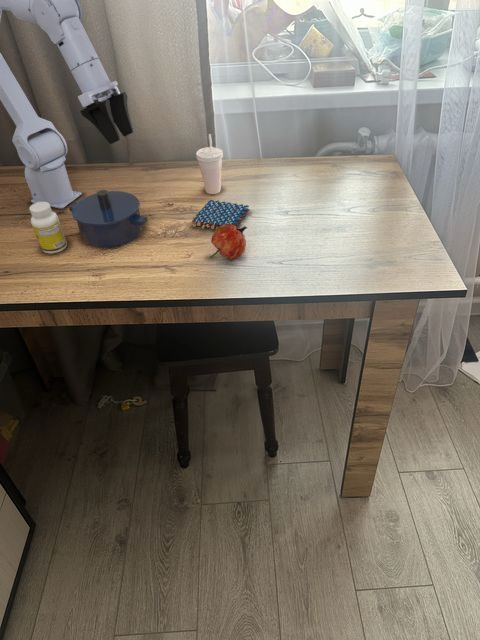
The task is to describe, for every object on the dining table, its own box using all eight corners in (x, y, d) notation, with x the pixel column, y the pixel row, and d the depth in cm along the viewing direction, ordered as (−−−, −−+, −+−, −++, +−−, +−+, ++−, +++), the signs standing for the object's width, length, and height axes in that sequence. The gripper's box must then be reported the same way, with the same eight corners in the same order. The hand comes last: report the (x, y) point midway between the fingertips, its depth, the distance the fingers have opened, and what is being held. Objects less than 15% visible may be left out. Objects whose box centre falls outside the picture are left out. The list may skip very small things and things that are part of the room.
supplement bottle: (44, 241, 111) (29, 200, 104) (69, 239, 111) (55, 198, 105) (39, 255, 107) (22, 213, 100) (65, 253, 108) (50, 211, 101)
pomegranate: (219, 277, 104) (257, 250, 100) (195, 252, 100) (232, 222, 96) (222, 260, 110) (258, 234, 106) (199, 235, 106) (235, 207, 102)
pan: (131, 255, 107) (125, 232, 103) (59, 238, 112) (51, 216, 108) (163, 223, 115) (159, 201, 112) (95, 209, 121) (89, 188, 117)
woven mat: (209, 205, 121) (208, 197, 120) (250, 211, 118) (250, 203, 117) (190, 227, 114) (189, 219, 113) (234, 234, 111) (233, 226, 110)
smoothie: (222, 197, 124) (217, 140, 114) (197, 195, 125) (190, 138, 115) (228, 185, 128) (224, 129, 118) (204, 183, 129) (198, 127, 119)
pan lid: (116, 234, 103) (111, 214, 100) (59, 221, 108) (52, 202, 104) (152, 201, 113) (149, 182, 110) (99, 191, 117) (94, 173, 114)
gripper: (86, 58, 86) (126, 137, 93) (117, 53, 98) (150, 123, 105) (53, 75, 88) (95, 151, 95) (87, 69, 100) (122, 137, 107)
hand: (122, 138), depth 100 cm, fingers open, 7 cm apart
